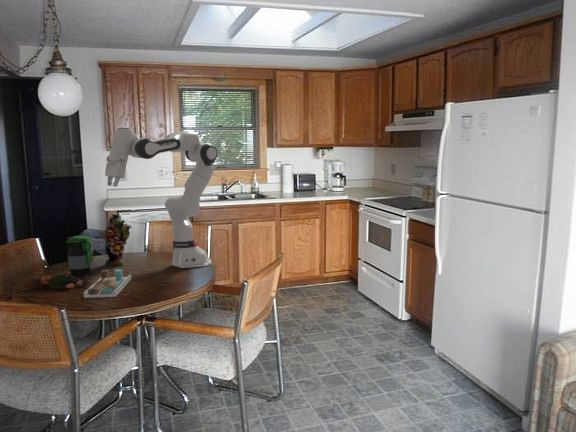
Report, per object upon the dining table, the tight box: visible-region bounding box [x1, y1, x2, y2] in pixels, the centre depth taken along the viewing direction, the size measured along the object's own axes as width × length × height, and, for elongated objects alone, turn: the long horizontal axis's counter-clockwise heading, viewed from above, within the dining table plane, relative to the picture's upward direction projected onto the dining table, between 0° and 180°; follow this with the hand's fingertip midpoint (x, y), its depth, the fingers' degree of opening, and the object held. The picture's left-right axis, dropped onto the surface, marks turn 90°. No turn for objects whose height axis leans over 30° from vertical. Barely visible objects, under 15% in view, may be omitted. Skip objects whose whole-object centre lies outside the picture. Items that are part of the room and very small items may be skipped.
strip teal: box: [103, 268, 124, 294], centre depth 219 cm, size 4×20×6 cm, turn 4°
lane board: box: [82, 274, 132, 299], centre depth 222 cm, size 14×28×2 cm, turn 4°
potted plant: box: [65, 235, 94, 276], centre depth 245 cm, size 11×13×20 cm
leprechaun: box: [31, 271, 89, 291], centre depth 223 cm, size 11×10×25 cm
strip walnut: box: [87, 269, 110, 294], centre depth 218 cm, size 4×20×6 cm, turn 4°
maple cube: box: [103, 276, 116, 290], centre depth 213 cm, size 4×4×4 cm
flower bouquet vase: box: [104, 212, 132, 268], centre depth 261 cm, size 15×15×30 cm
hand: (111, 186), depth 228 cm, fingers open, 8 cm apart
